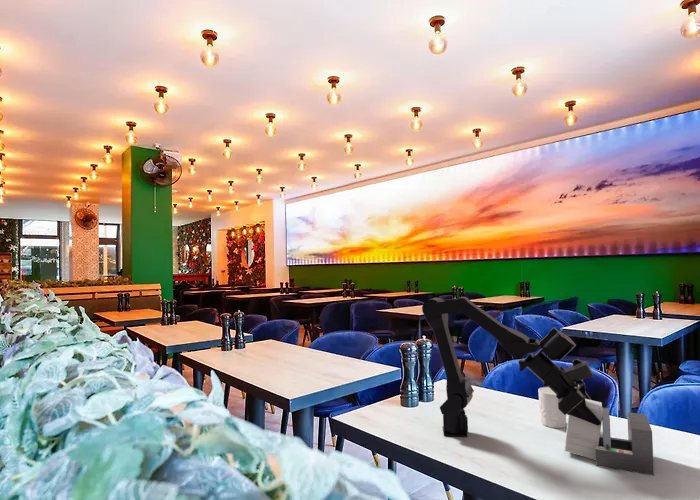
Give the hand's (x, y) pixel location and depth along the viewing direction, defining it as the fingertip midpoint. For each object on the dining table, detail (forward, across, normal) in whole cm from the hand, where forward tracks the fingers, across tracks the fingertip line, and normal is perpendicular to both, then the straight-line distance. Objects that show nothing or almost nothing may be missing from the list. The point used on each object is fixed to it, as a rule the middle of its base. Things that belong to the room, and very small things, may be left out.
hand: (599, 418), depth 111 cm
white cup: (-2, +18, +15) cm, 24 cm away
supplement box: (+3, 0, +10) cm, 10 cm away
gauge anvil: (+10, 0, +4) cm, 10 cm away
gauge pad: (+7, -1, +5) cm, 9 cm away
